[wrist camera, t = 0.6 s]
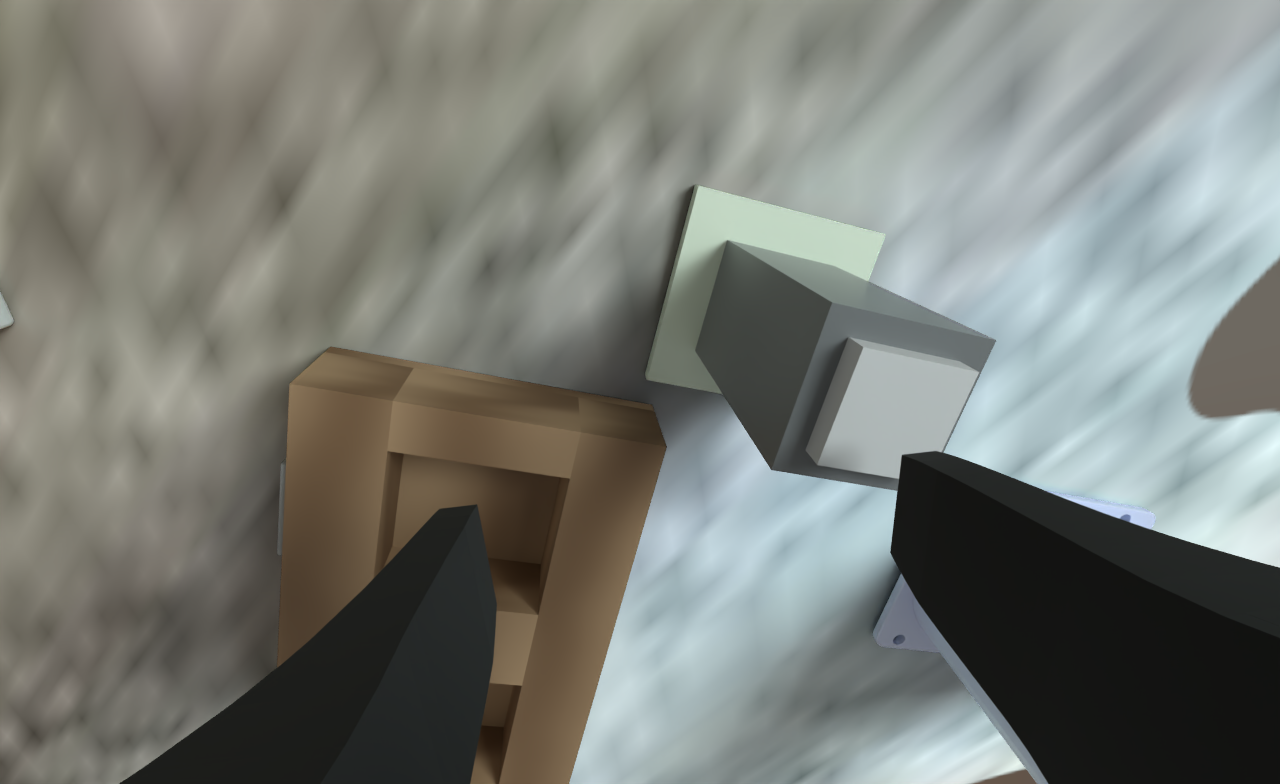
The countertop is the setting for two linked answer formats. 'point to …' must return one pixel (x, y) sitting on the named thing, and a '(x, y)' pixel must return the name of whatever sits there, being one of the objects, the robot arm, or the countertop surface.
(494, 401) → the divided box
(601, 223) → the countertop surface
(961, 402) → the plug
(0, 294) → the small box
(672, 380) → the coaster
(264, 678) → the robot arm
